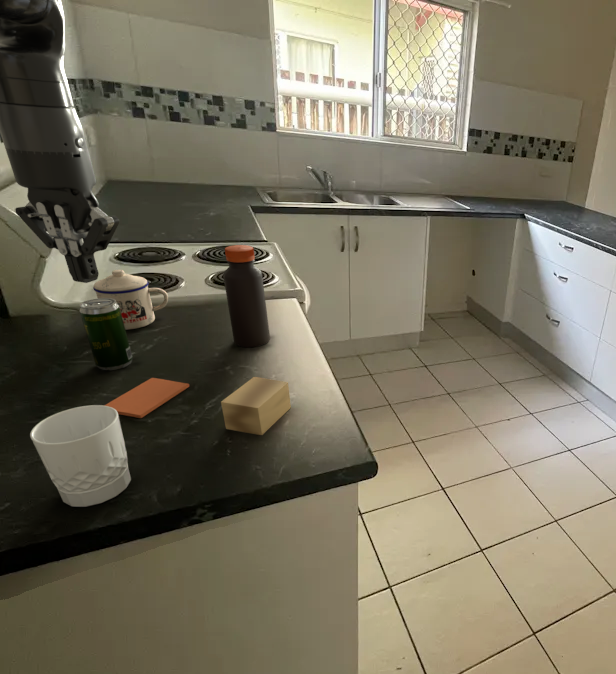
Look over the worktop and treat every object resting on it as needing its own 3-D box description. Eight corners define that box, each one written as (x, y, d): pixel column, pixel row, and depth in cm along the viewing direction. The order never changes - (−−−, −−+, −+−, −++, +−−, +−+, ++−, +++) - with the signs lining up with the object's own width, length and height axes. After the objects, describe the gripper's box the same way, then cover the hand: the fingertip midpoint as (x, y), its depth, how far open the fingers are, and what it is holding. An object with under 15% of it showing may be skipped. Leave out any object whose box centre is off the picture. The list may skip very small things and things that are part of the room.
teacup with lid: (101, 333, 97) (85, 279, 92) (106, 317, 103) (92, 265, 99) (172, 326, 103) (160, 274, 98) (172, 310, 110) (162, 262, 105)
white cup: (41, 497, 58) (13, 430, 54) (111, 460, 65) (91, 398, 61) (83, 520, 56) (57, 452, 51) (151, 479, 62) (133, 416, 58)
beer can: (134, 355, 90) (118, 296, 85) (133, 367, 86) (116, 306, 81) (97, 360, 87) (79, 299, 82) (94, 373, 83) (75, 310, 78)
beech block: (225, 429, 73) (220, 401, 71) (257, 402, 80) (254, 376, 78) (262, 435, 73) (257, 408, 70) (291, 407, 80) (288, 382, 78)
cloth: (100, 411, 74) (99, 407, 74) (152, 380, 83) (152, 377, 83) (141, 418, 73) (140, 415, 73) (189, 386, 83) (188, 383, 82)
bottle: (267, 332, 104) (255, 242, 96) (273, 344, 99) (261, 251, 91) (232, 337, 101) (217, 244, 92) (236, 350, 96) (221, 253, 87)
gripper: (-37, 140, 55) (14, 282, 62) (65, 153, 54) (105, 296, 61) (31, 139, 62) (69, 266, 69) (123, 150, 61) (153, 279, 68)
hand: (86, 280), depth 65 cm, fingers closed
